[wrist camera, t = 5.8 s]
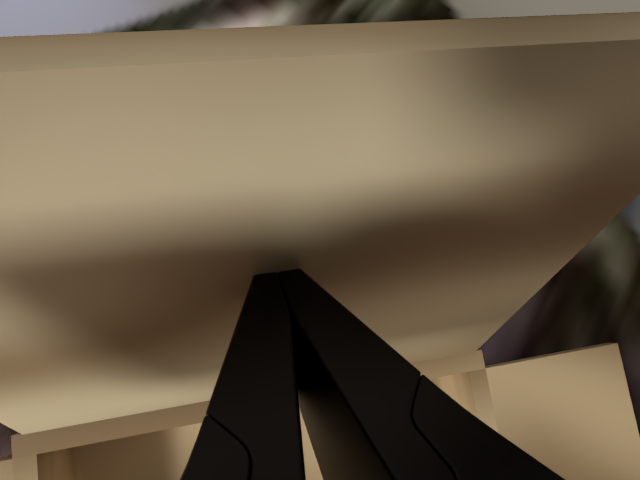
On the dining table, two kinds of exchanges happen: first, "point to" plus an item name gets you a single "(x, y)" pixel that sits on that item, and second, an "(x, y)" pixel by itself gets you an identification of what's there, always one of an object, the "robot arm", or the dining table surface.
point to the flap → (292, 189)
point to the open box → (447, 373)
